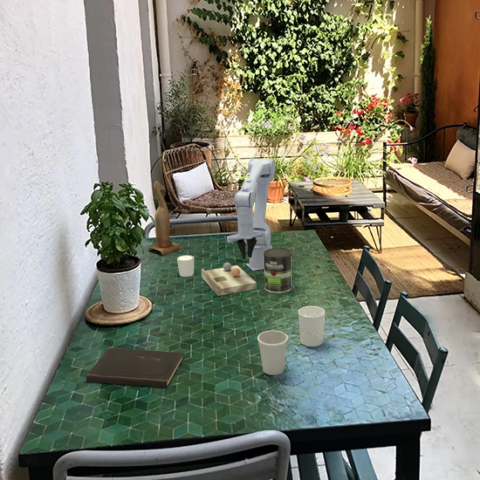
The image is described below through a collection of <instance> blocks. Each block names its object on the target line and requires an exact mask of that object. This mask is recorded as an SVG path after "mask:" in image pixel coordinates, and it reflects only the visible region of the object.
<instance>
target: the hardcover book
mask: <svg viewBox="0 0 480 480" xmlns="http://www.w3.org/2000/svg"><path fill="white" fill-rule="evenodd" d="M183 355H184V352H179V351H162V350H161V351H160V350H147V349H133V348H132V349H130V348H117V347H116V348H114V347H112V348H111V347H108V349H107V350H106V351H105V352H104V354H103V355H102V356H101V357H100V359H98V360H97V362H96V363H95V364H94V365H93V367H92V368H91V370H90V371H89V372H88V373H87V374H86V379H85V380H86V383H98V384H109V385H110V384H111V385H123V386H124V385H125V386H137V387H150V388H151V387H152V388H160V389H161V388H162V389H167V388H168V385H169V384H170V382H171V380H172V379H173V376H174V374H175V373H176V371H177V369H178V367H179V366H180V364H181V362H182V360H183Z"/></svg>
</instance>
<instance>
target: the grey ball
mask: <svg viewBox="0 0 480 480" xmlns="http://www.w3.org/2000/svg"><path fill="white" fill-rule="evenodd" d="M231 266H232V264H231V263H230V262H224V263H223V265H222V268H224V270H226V271H228V270H230V269H231Z"/></svg>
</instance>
